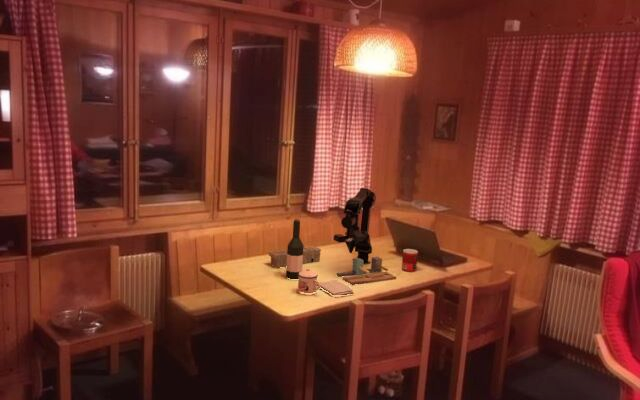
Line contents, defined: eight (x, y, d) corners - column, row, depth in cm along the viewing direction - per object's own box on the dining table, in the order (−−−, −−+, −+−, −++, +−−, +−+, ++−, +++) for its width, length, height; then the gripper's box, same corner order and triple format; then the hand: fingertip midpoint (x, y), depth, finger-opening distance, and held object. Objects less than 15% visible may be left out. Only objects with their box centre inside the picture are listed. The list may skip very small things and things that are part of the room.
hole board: (342, 279, 288) (342, 276, 288) (385, 273, 301) (386, 271, 301) (352, 285, 280) (352, 282, 280) (396, 279, 294) (396, 276, 293)
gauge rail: (335, 275, 294) (336, 261, 293) (378, 269, 307) (379, 256, 306) (347, 282, 284) (348, 268, 282) (391, 276, 297) (392, 263, 296)
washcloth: (334, 299, 261) (335, 293, 261) (313, 287, 276) (314, 281, 276) (355, 295, 268) (356, 289, 267) (334, 283, 283) (334, 277, 282)
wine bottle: (305, 276, 289) (308, 219, 283) (297, 281, 281) (300, 222, 276) (290, 273, 292) (293, 216, 286) (282, 278, 285) (285, 219, 279)
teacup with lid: (293, 291, 267) (294, 267, 265) (306, 287, 274) (307, 264, 272) (312, 298, 259) (313, 274, 257) (325, 294, 266) (326, 270, 264)
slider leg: (351, 272, 299) (352, 258, 298) (358, 271, 301) (359, 258, 300) (364, 279, 289) (365, 265, 287) (371, 278, 291) (372, 264, 289)
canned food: (415, 273, 306) (417, 253, 303) (400, 271, 307) (402, 251, 305) (416, 269, 313) (418, 249, 311) (401, 267, 314) (403, 248, 312)
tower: (311, 259, 322) (267, 265, 304) (312, 245, 320) (268, 250, 303) (319, 263, 316) (275, 269, 298) (321, 248, 314) (276, 253, 297)
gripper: (345, 229, 280) (343, 259, 284) (376, 226, 289) (374, 255, 292) (333, 223, 290) (332, 253, 293) (364, 221, 299) (362, 249, 302)
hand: (350, 253), depth 295 cm, fingers closed
